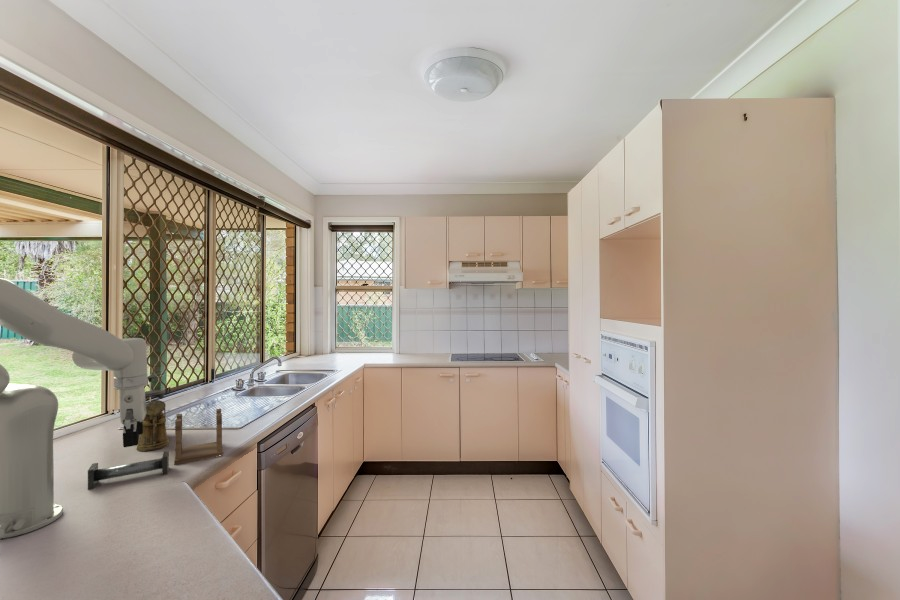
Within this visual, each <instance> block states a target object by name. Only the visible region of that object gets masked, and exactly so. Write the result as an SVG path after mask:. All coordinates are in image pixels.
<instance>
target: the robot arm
mask: <svg viewBox="0 0 900 600" xmlns="http://www.w3.org/2000/svg"><path fill="white" fill-rule="evenodd" d="M0 327H3V328H5V329H7V330H9V331H11V332H12V333H15V334H16V335H18V336H20V337H22V338H23V339H26V340H28V341H31V342H33V343H36V344H40V345H43V346H47V347H52V348H57V349H63V350H67V351H70V352H72V355H71V358H72V362H73V363H74V364H75V365H76V367H78V368H80V369H84V370H90V371H91V370H92V371H109V372H112V373H113V389H114V390H117V391H118V392H119V394H118V395H119V416H120V424H121V425H122V426H123V428H122V446H123V448H128V447H129V448H130V447H137V445H138V435H139V434H142V433H143V420H144V418H145V416H146V413H147V411H146V404H147V402H146V398H145V392H146V390H145V387H146V386H148V385H149V380H148V376H149V375H148V359H147V358H148V356H147V354H148V353H147V341H146V340H145V339H144V338H140V337H129V338H128V337H126V338H119V337H118V336H116V335H114V334H113V333H111V332H109V331H108V330H106V329H104V328H101V327H99V326H97V325H94V324H92V323H89V322H87V321H84V320H82V319H80V318H78V317H75V316H73V315H71V314H68V313H65V312H64V311H62V310H60V309H58V308H56V307H54V306H53V305H51V304H50V303H48V302H46V301H44V300H43V299H41V298H39V297H38V296H36V295H35V294H33V293H31V292H30V291H27V290H26V289H25V288H23V287H21V286H19V285H18V284H16V283H14V282H13V281H11V280H8V279H5V278H2V277H0ZM10 381H11V380H10V374H9V371H8V370H7V368H5V366H3V365H2V364H1V363H0V540H2V538H3V539H8V538H13V537H17V536H21V535H24V534H28V533H29V532H30V533H31V532H33V531H36V530H39V529H41V528H43V527H45V526H48V525H49V524H51V523H53V522H55V521H56V520H57V519H59V518H60V517H61V516H62V515H63V513H64V508H63V506H62V505H61V504H58V503H57V504H56V503H54V502H55V501H54V498H55V496H54V495H55V490H54V487H55V483H54V482H55V481H54V477H55V476H54V475H55V474H54V469H55V468H54V465H55V464H54V434H55V433H54V432H55V425H56V424H55V423H56V420H57V415H58V411H59V401H58V398H57V395H56V394H55V393H54V392H53V391H51V390H50V389H49V388H46V387H44V386H41V385H35V384H28V383H27V384H25V383H11V382H10Z"/></svg>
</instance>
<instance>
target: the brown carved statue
mask: <svg viewBox="0 0 900 600" xmlns="http://www.w3.org/2000/svg"><path fill="white" fill-rule="evenodd" d="M166 407H167V406H166V402H164V401H162V400H159V399H154V400H151V402H150V401H149V402H146V411H147V413H146V416H145V418H144V420H143V433H142V434H140V436H139V441H138V445H136V451H138V452H150V451H155V450H161V449H163V448H165V447H167V446H168V445H169V444H170V442H169V438H168V434H167V427H166V421H167V420H166V415H165V416H164V410H165V411H166Z"/></svg>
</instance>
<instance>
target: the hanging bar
mask: <svg viewBox="0 0 900 600" xmlns="http://www.w3.org/2000/svg"><path fill="white" fill-rule="evenodd" d="M169 452H170V450H166V451H163V453H162V457H161V458H155V459H150V460H149V459H148V460H144V461H138V462H132V463H127V464H121V465H116V466H110V467H105V468H104V467H103V468H99V463H98V462H95V463H92V464H91V465H90V467H89V468H88V470H87V490H93V489H95V487H96V486H97V484H98V482H99V481H104V480H110V479H114V478H120V477H121V478H122V477H125V476H130V475H131V476H132V475H136V474H141V473H147V472H152V471H156V470H157V471H158V470H162V472H161V473H162V476H167V475H168V473H169V468H170V466H169V465H170V463H169V462H170V461H169V460H170V457H169V456H170V454H169Z"/></svg>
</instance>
